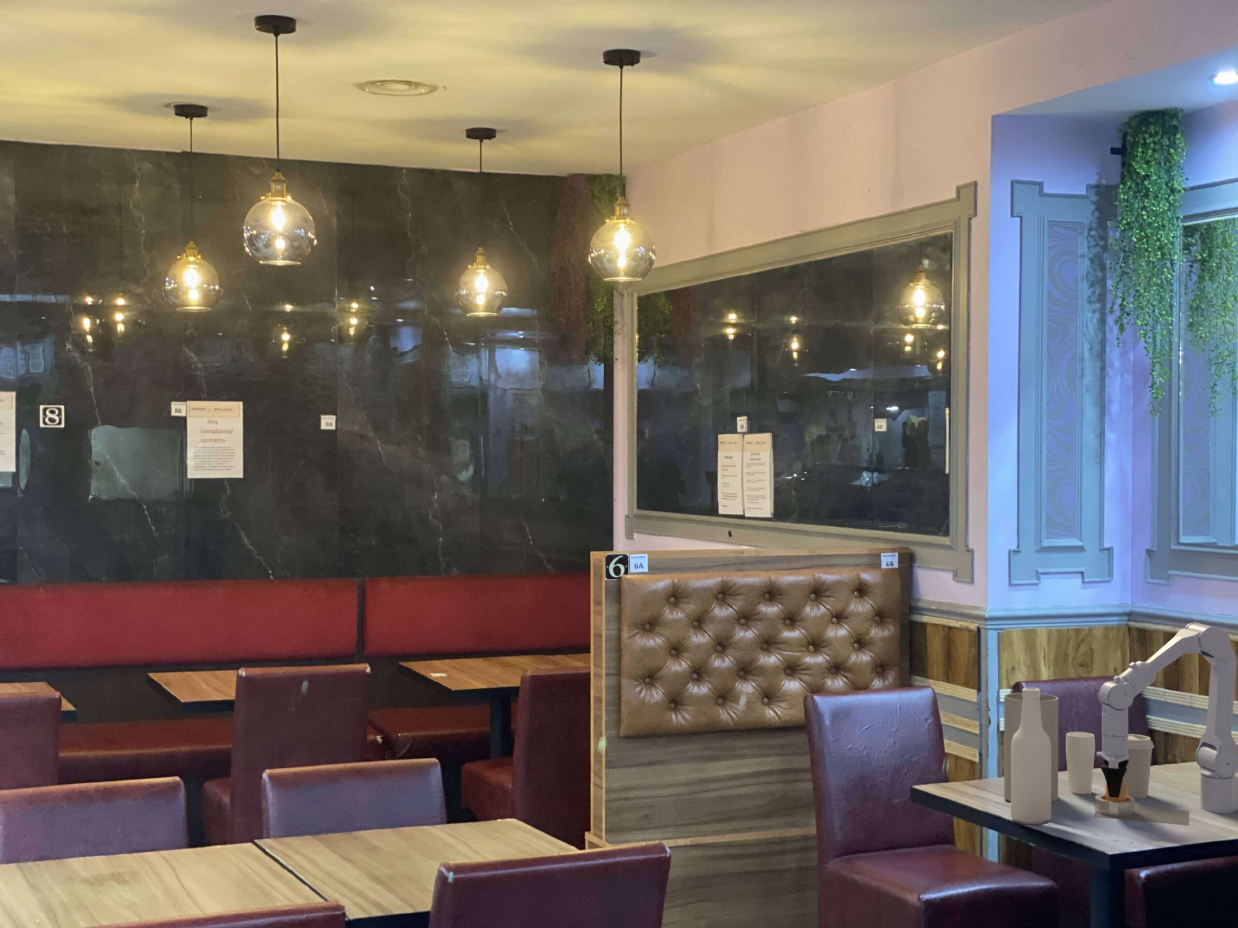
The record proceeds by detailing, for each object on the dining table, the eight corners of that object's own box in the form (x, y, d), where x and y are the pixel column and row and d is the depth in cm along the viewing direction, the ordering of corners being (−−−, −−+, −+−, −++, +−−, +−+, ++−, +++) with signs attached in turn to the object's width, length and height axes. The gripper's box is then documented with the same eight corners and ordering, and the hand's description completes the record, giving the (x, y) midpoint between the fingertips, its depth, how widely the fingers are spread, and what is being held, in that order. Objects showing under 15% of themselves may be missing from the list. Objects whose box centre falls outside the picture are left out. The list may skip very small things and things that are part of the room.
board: (1093, 820, 326) (1093, 816, 326) (1097, 807, 339) (1097, 802, 339) (1188, 829, 319) (1188, 824, 319) (1188, 814, 332) (1188, 810, 332)
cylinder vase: (1066, 799, 347) (1066, 696, 347) (1045, 809, 337) (1045, 702, 337) (1017, 791, 355) (1017, 690, 355) (995, 801, 345) (995, 697, 345)
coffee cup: (1154, 804, 342) (1154, 741, 341) (1112, 801, 345) (1112, 739, 345) (1153, 795, 351) (1153, 734, 351) (1112, 793, 354) (1112, 732, 354)
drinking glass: (1096, 799, 347) (1096, 737, 347) (1067, 797, 349) (1067, 736, 349) (1092, 792, 354) (1093, 732, 354) (1064, 791, 355) (1064, 730, 355)
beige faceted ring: (1109, 804, 337) (1109, 792, 337) (1142, 812, 330) (1142, 799, 330) (1087, 810, 332) (1087, 797, 332) (1120, 817, 325) (1120, 804, 325)
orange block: (1112, 807, 334) (1114, 781, 334) (1130, 812, 331) (1131, 786, 330) (1099, 809, 332) (1101, 783, 332) (1117, 814, 328) (1119, 787, 328)
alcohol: (1034, 814, 333) (1034, 684, 332) (1059, 822, 324) (1059, 690, 324) (1003, 817, 329) (1003, 686, 329) (1027, 826, 321) (1027, 692, 321)
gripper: (1098, 727, 339) (1098, 785, 339) (1094, 738, 326) (1094, 798, 326) (1130, 730, 337) (1130, 787, 337) (1127, 741, 323) (1127, 801, 323)
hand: (1114, 793), depth 331 cm, fingers open, 7 cm apart
